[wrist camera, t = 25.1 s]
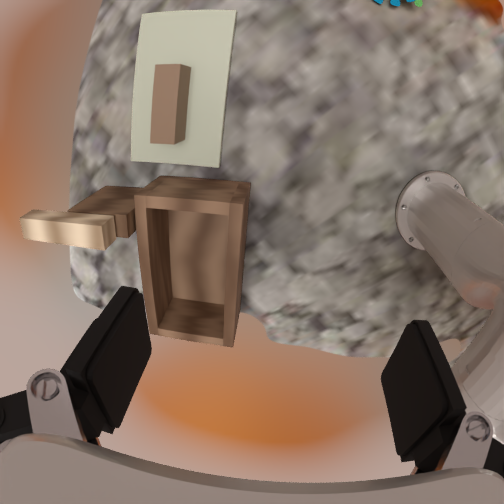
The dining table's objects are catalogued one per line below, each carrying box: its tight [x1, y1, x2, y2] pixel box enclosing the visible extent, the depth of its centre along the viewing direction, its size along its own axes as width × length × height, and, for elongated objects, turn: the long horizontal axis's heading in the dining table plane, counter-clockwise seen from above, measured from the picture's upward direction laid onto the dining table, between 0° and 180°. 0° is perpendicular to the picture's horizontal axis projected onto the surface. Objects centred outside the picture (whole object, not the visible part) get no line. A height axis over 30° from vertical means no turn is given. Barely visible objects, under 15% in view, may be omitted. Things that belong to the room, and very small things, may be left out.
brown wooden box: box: [68, 176, 251, 347], centre depth 42 cm, size 22×22×10 cm
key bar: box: [20, 210, 116, 250], centre depth 33 cm, size 14×3×3 cm, turn 85°
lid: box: [131, 10, 237, 168], centre depth 33 cm, size 13×22×6 cm, turn 174°
